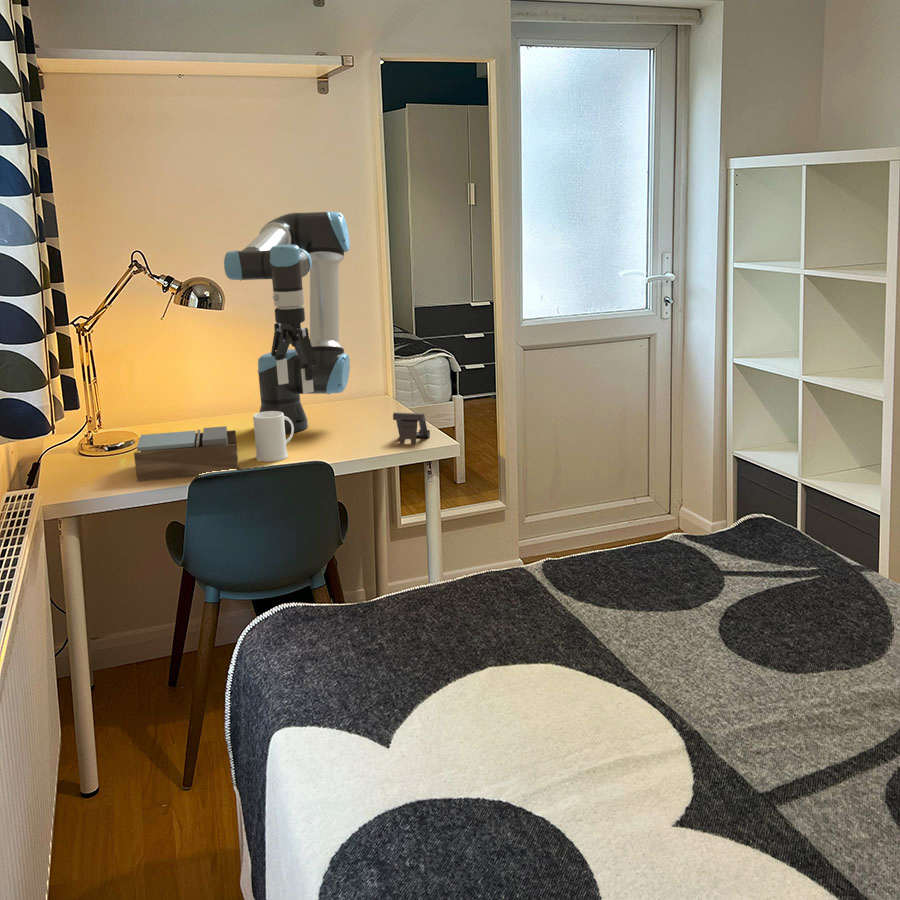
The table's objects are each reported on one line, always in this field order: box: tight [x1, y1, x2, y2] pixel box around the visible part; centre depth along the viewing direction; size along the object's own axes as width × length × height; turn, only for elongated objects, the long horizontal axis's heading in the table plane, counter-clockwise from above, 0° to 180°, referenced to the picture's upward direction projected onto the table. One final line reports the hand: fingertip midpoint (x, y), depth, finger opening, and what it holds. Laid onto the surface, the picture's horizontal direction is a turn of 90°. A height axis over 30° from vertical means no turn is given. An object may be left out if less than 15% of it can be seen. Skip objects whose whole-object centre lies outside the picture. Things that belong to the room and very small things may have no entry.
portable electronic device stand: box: [392, 412, 431, 445], centre depth 278 cm, size 9×8×8 cm
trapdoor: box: [136, 425, 228, 452], centre depth 257 cm, size 22×13×6 cm, turn 102°
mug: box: [252, 411, 295, 463], centre depth 266 cm, size 12×8×12 cm
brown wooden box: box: [133, 429, 239, 482], centre depth 258 cm, size 16×25×8 cm, turn 102°
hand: (295, 388), depth 258 cm, fingers open, 13 cm apart
